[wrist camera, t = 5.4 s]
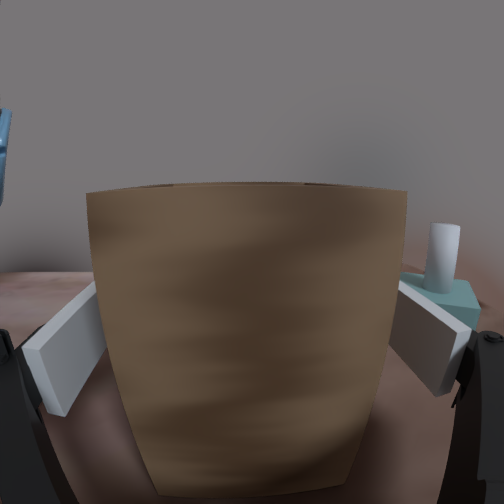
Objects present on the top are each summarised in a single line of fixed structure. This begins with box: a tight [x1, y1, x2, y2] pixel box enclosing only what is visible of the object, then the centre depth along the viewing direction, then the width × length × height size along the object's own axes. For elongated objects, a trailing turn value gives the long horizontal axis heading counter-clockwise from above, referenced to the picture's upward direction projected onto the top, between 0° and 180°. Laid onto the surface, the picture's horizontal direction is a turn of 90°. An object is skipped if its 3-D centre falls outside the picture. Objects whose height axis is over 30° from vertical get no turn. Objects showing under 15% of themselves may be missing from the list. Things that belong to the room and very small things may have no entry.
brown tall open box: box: [86, 182, 407, 498], centre depth 12 cm, size 8×8×12 cm
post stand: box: [400, 222, 481, 331], centre depth 24 cm, size 8×8×9 cm
